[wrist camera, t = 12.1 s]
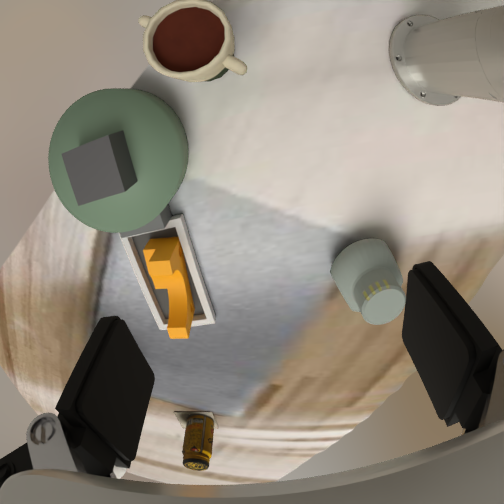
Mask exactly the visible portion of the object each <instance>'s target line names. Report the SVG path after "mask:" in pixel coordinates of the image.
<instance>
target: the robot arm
mask: <svg viewBox="0 0 504 504" xmlns="http://www.w3.org/2000/svg"><path fill="white" fill-rule="evenodd" d="M408 25H409V26H408ZM389 53H390V60H391V64H392V67H393V70H394V72H395V74H396V76H397V78H398V80H399V81H400V83H401V84H402V86H403V87H404V88H405V89H406V90H407V91H408V92H409V93H410V94H411V95H412V96H414V97H415V98H416V99H418V100H420V101H422V102H424V103H427V104H430V105H437V106H445V105H449V104H452V103H454V102H455V101H457V100H458V99H459V98H460V97H470V98H478V99H485V100H492V101H498V102H504V6H499V7H493V8H489V9H484V10H479V11H474V12H470V13H466V14H462V15H458V16H454V17H450V18H446V19H443V20H439V19H437V18H434V17H431V16H427V15H415V16H411V17H409V18H406V19H404V20H403V21H401V22H400V23H399V24H398V25H397V26H396V28H395V29H394V31H393V33H392V35H391V39H390V45H389ZM396 57H397V60H396ZM420 93H421V96H420ZM402 338H403V342H404V344H405V346H406V348H407V350H408V352H409V354H410V356H411V358H412V361H413V363H414V365H415V367H416V369H417V371H418V373H419V375H420V377H421V379H422V381H423V383H424V386H425V388H426V390H427V392H428V395H429V397H430V399H431V401H432V403H433V406H434V408H435V410H436V413H437V415H438V417H439V418H440V419H441V420H443V419H444V420H445V422H446V425H447V427H448V426H450V425H453V424H455V423H458V422H460V424H461V426H462V428H463V431H462V434H461V436H458V437H456V438H454V439H451V440H448V441H446V442H443V443H440V444H438V445H435V446H432V447H429V448H426V449H423V450H420V451H417V452H414V453H411V454H408V455H405V456H402V457H399V458H395V459H392V460H388V461H385V462H381V463H377V464H373V465H370V466H366V467H361V468H357V469H353V470H348V471H344V472H339V473H334V474H328V475H322V476H316V477H310V478H303V479H296V480H288V481H279V482H269V483H256V484H239V485H181V484H164V483H151V482H141V481H133V480H125V479H118V478H117V477H116V475H115V473H114V472H113V469H114V465H115V466H116V467H122V468H130V464H131V461H133V460H134V459H135V457H136V453H137V449H138V444H139V440H140V436H141V432H142V428H143V424H144V420H145V416H146V412H147V408H148V404H149V400H150V396H151V393H152V389H153V385H154V381H155V378H154V373H153V371H152V369H151V368H150V366H149V364H148V363H147V361H146V359H145V357H144V356H143V354H142V352H141V350H140V349H139V347H138V345H137V343H136V341H135V340H134V338H133V336H132V334H131V332H130V330H129V329H128V327H127V325H126V323H125V321H124V320H122V319H120V318H119V317H118V316H110V317H103V318H101V319H100V320H99V322H98V324H97V326H96V328H95V329H94V331H93V333H92V335H91V337H90V339H89V341H88V342H87V344H86V346H85V348H84V350H83V352H82V354H81V356H80V358H79V360H78V362H77V364H76V366H75V368H74V370H73V372H72V374H71V376H70V378H69V380H68V382H67V384H66V386H65V388H64V390H63V392H62V395H61V397H60V399H59V401H58V403H57V405H56V408H55V409H56V410H57V411H58V412H59V414H58V417H57V416H56V415H55V414H52V413H43V414H41V415H39V416H37V417H36V418H35V419H34V420H33V421H32V422H31V423H30V425H29V427H28V429H27V434H26V435H27V443H25V444H24V445H22V446H21V447H19V448H18V449H16V450H14V451H13V452H11V453H9V454H8V455H6V456H5V457H3V458H1V459H0V504H504V350H502V349H501V348H500V346H499V345H498V343H497V342H496V340H495V339H494V338H493V336H492V335H491V334H490V332H489V331H488V329H487V328H486V327H485V326H484V324H483V323H482V322H481V320H480V319H479V318H478V316H477V315H476V314H475V313H474V311H473V310H472V309H471V308H470V306H469V305H468V304H467V303H466V301H465V300H464V299H463V298H462V296H461V295H460V294H459V293H458V292H457V290H456V289H455V288H454V287H453V286H452V285H451V283H450V282H449V281H448V280H447V279H446V278H445V276H444V275H443V274H442V273H441V272H440V271H439V270H438V268H437V267H436V266H435V265H434V264H433V263H432V262H430V261H428V262H424V263H420V264H415V265H414V266H413V269H412V270H410V271H409V273H408V282H407V294H406V304H405V313H404V321H403V329H402Z"/></svg>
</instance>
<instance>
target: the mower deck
mask: <svg viewBox="0 0 504 504" xmlns="http://www.w3.org/2000/svg"><path fill="white" fill-rule="evenodd" d="M48 159H49V171H50V177H51V180H52V184H53V186H54V189H55V192H56V194H57V195H58V197H59V199H60V201H61V202H62V204H63V205H64V206H65V208H66V209H67V210H68V211H69V212H70V213H71V214H72V215H73V216H74V217H75V218H76V219H78V220H79V221H81V222H82V223H84V224H86V225H87V226H89V227H92V228H94V229H97V230H100V231H105V232H112V233H119V235H120V238H121V240H122V243H123V246H124V248H125V251H126V253H127V256H128V258H129V261H130V263H131V266H132V268H133V271H134V273H135V275H136V278H137V280H138V282H139V285H140V287H141V289H142V292H143V294H144V296H145V298H146V301H147V303H148V305H149V307H150V310H151V312H152V314H153V316H154V318H155V320H156V322H157V325H158V327H159V329H160V330H167V326H168V320H169V296H168V290H167V289H155V286H154V282H153V280H152V278H151V276H150V275H149V272H148V268H147V264H146V260H145V256H144V252H143V249H144V248H145V246H146V244H147V243H148V241H149V240H150V239H157V238H169V237H179V240H180V243H181V246H182V249H183V254H184V259H185V264H186V269H187V274H188V279H189V284H190V289H191V294H192V299H193V303H194V308H195V311H194V315H193V320H192V324H191V326H199V325H206V324H214V323H215V320H216V316H215V313H214V310H213V307H212V304H211V301H210V298H209V295H208V292H207V289H206V286H205V283H204V280H203V277H202V274H201V271H200V268H199V265H198V261H197V258H196V255H195V252H194V249H193V246H192V242H191V239H190V236H189V233H188V229H187V226H186V223H185V219H184V216H183V214H180V215H175V216H172V214H171V211H170V208H169V205H168V203H169V201H170V200H171V199H172V197H173V196H174V195H175V193H176V192H177V190H178V189H179V187H180V185H181V183H182V181H183V179H184V176H185V173H186V169H187V164H188V143H187V138H186V134H185V131H184V128H183V126H182V124H181V122H180V120H179V118H178V117H177V115H176V113H175V112H174V111H173V110H172V109H171V107H170V106H169V105H167V104H166V103H165V102H164V101H163V100H161V99H160V98H158V97H157V96H155V95H153V94H151V93H148V92H145V91H142V90H137V89H103V90H98V91H95V92H92V93H89V94H87V95H85V96H83V97H82V98H80V99H79V100H77V101H76V102H75V103H73V104H72V105H71V106H70V107H69V108H68V109H67V110H66V112H65V113H64V114H63V115H62V117H61V118H60V120H59V121H58V123H57V125H56V127H55V129H54V132H53V135H52V138H51V142H50V147H49V158H48Z"/></svg>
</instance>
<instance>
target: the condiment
mask: <svg viewBox="0 0 504 504" xmlns="http://www.w3.org/2000/svg"><path fill="white" fill-rule="evenodd" d="M174 414H175V415H176V417H177V418H178V420H179V422H180V424H181V426H182V428H185V429H186V430H185V437H184V444H183V451H182V453H183V455H184V456H183V459H184V460H183V465H184V466H185V467H186V468H189V469H192V470H198V471H201V470H206V469H208V467H209V461H210V460H209V459H210V458H211V455H212V444H213V433H214V428H217V429H218V426H217V423H216V421H215V418H214V416H213V413H212V412H190V413H188V412H179V413H177V412H174Z"/></svg>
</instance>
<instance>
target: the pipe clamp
mask: <svg viewBox="0 0 504 504" xmlns="http://www.w3.org/2000/svg"><path fill="white" fill-rule="evenodd" d="M143 252H144V256H145V260H146V264H147V268H148V272H149V275H150V276H151V278H152V280H153V282H154V286H155V289H167V290H168V296H169V320H168V326H167V330H168V333H169V336H170V339H174V338H189V333H190V329H191V324H192V320H193V315H194V311H195V308H194V303H193V299H192V294H191V289H190V284H189V279H188V274H187V269H186V264H185V259H184V254H183V249H182V246H181V243H180V240H179V237H169V238H157V239H150V240H149V241H148V243H147V244H146V246H145V248H144V249H143Z"/></svg>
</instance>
